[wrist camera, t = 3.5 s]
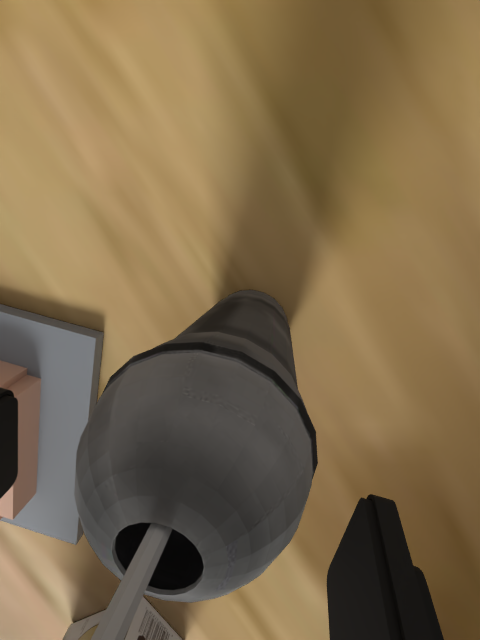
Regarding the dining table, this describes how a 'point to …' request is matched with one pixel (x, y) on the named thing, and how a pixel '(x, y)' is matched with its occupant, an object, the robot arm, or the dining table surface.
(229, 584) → the beverage cup
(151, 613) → the coffee box
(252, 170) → the dining table surface
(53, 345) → the collar stand
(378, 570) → the robot arm
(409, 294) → the dining table surface
